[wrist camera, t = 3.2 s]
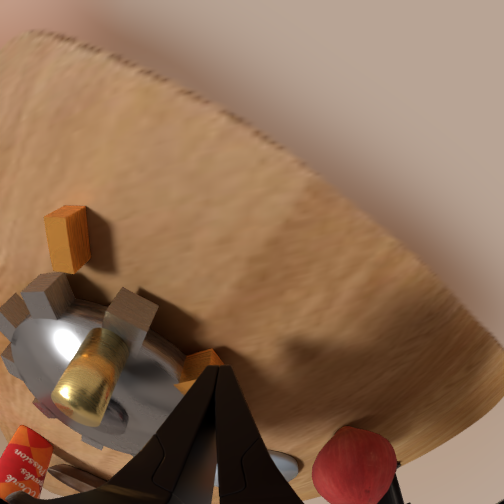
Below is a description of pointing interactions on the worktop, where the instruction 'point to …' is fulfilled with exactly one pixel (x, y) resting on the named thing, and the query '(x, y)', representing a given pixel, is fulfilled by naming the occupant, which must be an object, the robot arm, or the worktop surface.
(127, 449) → the sprocket
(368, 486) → the onion
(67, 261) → the wooden toy brick
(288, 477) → the coaster
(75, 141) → the worktop surface
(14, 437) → the paper cup
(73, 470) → the saucer
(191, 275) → the worktop surface
